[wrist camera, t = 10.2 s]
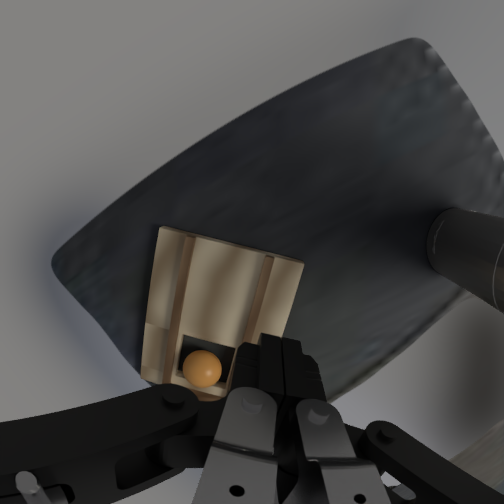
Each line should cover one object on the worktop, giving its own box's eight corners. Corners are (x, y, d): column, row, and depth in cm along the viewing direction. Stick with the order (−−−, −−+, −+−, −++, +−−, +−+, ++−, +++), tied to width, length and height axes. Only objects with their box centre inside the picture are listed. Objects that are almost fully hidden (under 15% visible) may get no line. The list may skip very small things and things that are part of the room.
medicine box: (397, 494, 47) (406, 520, 38) (387, 490, 46) (396, 519, 38) (425, 475, 45) (436, 502, 37) (417, 471, 45) (428, 499, 36)
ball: (215, 396, 37) (223, 363, 41) (218, 385, 34) (227, 349, 37) (179, 386, 37) (188, 355, 41) (177, 374, 34) (188, 339, 37)
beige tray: (302, 260, 36) (306, 269, 33) (256, 403, 41) (255, 418, 37) (163, 225, 36) (153, 230, 32) (143, 372, 41) (135, 386, 37)
